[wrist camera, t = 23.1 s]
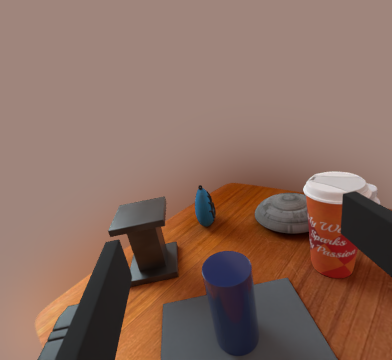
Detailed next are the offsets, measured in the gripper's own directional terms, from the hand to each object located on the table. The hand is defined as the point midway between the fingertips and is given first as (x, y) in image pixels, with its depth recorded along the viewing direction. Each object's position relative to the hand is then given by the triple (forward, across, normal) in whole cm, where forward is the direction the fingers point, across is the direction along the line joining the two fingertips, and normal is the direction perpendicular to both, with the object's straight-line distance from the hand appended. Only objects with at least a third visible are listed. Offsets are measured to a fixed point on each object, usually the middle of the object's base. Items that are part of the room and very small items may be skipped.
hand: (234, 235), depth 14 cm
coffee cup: (+18, +18, -22) cm, 34 cm away
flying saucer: (+33, +18, -22) cm, 44 cm away
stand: (+27, -12, -22) cm, 37 cm away
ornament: (+38, 0, -23) cm, 44 cm away
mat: (+10, 0, -22) cm, 24 cm away
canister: (+10, 0, -22) cm, 24 cm away
